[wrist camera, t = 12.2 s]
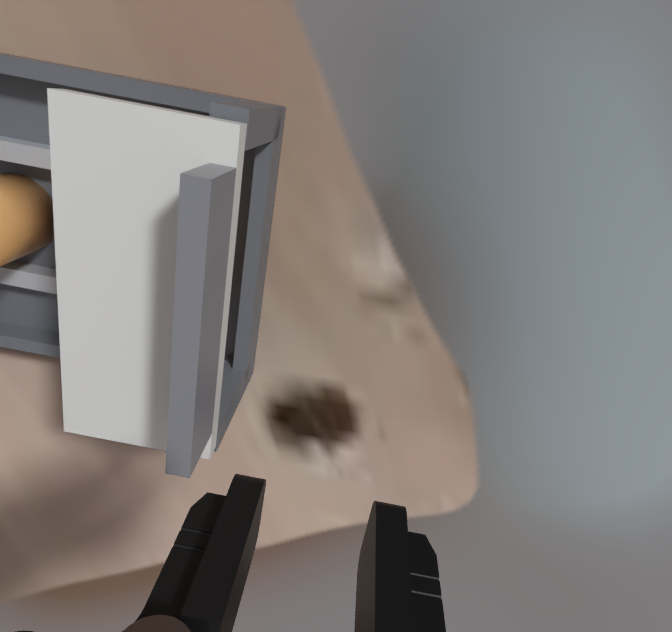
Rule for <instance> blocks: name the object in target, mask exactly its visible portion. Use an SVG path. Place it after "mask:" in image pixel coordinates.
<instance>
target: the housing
mask: <svg viewBox="0 0 672 632" xmlns="http://www.w3.org/2000/svg"><path fill="white" fill-rule="evenodd" d="M47 88H56V89H67V90H72V91H78V92H83V93H88V94H93V95H99V96H104V97H109V98H114V99H120V100H125V101H130V102H136V103H141V104H146V105H151V106H157V107H162V108H167V109H173V110H178V111H183V112H188V113H194V114H199V115H204V116H209V117H215V118H220V119H225V120H231V121H236V122H241V123H246V124H247V130H246V140H245V150H244V161H243V171H242V181H241V192H240V202H239V212H238V223H237V233H236V243H235V254H234V264H233V274H232V285H231V295H230V305H229V316H228V326H227V336H226V347H225V357H224V367H223V378H222V388H221V398H220V409H219V419H218V429H217V440H216V447H215V449H214V451H215V452H216V451H217V449H218V447H219V445H220V443H221V441H222V438H223V436H224V434H225V432H226V430H227V428H228V426H229V423H230V421H231V419H232V417H233V415H234V413H235V411H236V408H237V406H238V404H239V402H240V400H241V398H242V396H243V393H244V391H245V389H246V387H247V385H248V383H249V381H250V378H251V376H252V374H253V369H254V361H255V353H256V345H257V337H258V329H259V321H260V313H261V305H262V297H263V289H264V281H265V272H266V264H267V256H268V248H269V240H270V232H271V224H272V216H273V208H274V200H275V192H276V184H277V176H278V168H279V159H280V151H281V143H282V135H283V127H284V119H285V111H286V107H284V106H278V105H273V104H268V103H262V102H257V101H252V100H247V99H241V98H236V97H231V96H225V95H220V94H215V93H210V92H204V91H199V90H194V89H189V88H183V87H178V86H173V85H167V84H162V83H157V82H152V81H146V80H141V79H136V78H130V77H125V76H120V75H115V74H109V73H104V72H99V71H93V70H88V69H83V68H78V67H72V66H67V65H62V64H56V63H51V62H46V61H41V60H35V59H30V58H25V57H19V56H14V55H9V54H4V53H0V174H1V173H9V172H12V173H18V174H22V175H25V176H27V177H29V178H31V179H33V180H34V181H36V182H37V183H38V184H39V185H41V186H42V187H43V188H44V189H45V191H46V192H47V193H48V194H49V196H50V197H51V199H52V201H53V198H52V178H51V158H50V137H49V117H48V97H47ZM0 347H4V348H10V349H15V350H20V351H25V352H30V353H36V354H41V355H46V356H51V357H56V358H60V340H59V320H58V300H57V279H56V259H55V239H54V238H53V240H52V241H51V242H50V243H49V244H48V245H47V246H45V247H43V248H41V249H39V250H37V251H35V252H32V253H30V254H28V255H25V256H23V257H21V258H19V259H16V260H14V261H12V262H9V263H7V264H5V265H2V266H0Z"/></svg>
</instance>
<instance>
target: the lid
mask: <svg viewBox="0 0 672 632" xmlns="http://www.w3.org/2000/svg"><path fill="white" fill-rule="evenodd" d="M47 97H48V117H49V137H50V158H51V178H52V198H53V219H54V239H55V259H56V279H57V300H58V320H59V340H60V360H61V381H62V401H63V421H64V431H65V432H70V433H75V434H80V435H85V436H91V437H96V438H101V439H106V440H111V441H117V442H122V443H127V444H132V445H137V446H142V447H148V448H153V449H158V450H163V451H166V471H165V473H166V474H172V475H177V476H182V477H187V478H190V476H191V474H192V472H193V470H194V468H195V466H196V464H197V462H198V460H199V458H205V459H210V458H211V455H212V453H213V451H214V449H215V447H216V440H217V429H218V419H219V409H220V398H221V388H222V378H223V367H224V357H225V347H226V336H227V326H228V316H229V305H230V295H231V285H232V274H233V264H234V254H235V243H236V233H237V223H238V212H239V202H240V192H241V181H242V171H243V161H244V150H245V140H246V130H247V124H246V123H241V122H236V121H231V120H225V119H220V118H215V117H209V116H204V115H199V114H194V113H188V112H183V111H178V110H173V109H167V108H162V107H157V106H151V105H146V104H141V103H136V102H130V101H125V100H120V99H114V98H109V97H104V96H99V95H93V94H88V93H83V92H78V91H72V90H67V89H56V88H47Z"/></svg>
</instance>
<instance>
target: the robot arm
mask: <svg viewBox="0 0 672 632" xmlns="http://www.w3.org/2000/svg"><path fill="white" fill-rule="evenodd" d="M265 486H266V480H265V479H260V478H255V477H250V476H245V475H240V474H235V476H234V478H233V480H232V483H231V485H230V488H229V490H228V493H227V495H226V496H223V495H218V494H213V493H208V492H207V493H206V494H205V495H204V496H203V497H202V498H201V499H200V500H199V501H197V502H196V503H195V504H194V505H193V506H192V507H191V508H190V510H189V512H188V515H187V517H186V519H185V521H184V523H183V525H182V528H181V531H180V532H179V534H178V536H177V538H176V540H175V542H174V546H173V547H172V549H171V551H170V553H169V555H168V558H167V560H166V562H165V564H164V566H163V568H162V570H161V573H160V575H159V577H158V579H157V581H156V583H155V585H154V588H153V590H152V592H151V594H150V597H149V598H148V601H147V603H146V605H145V607H144V609H143V611H142V613H141V614H140V616H139V617H138V619H137V620H136V621H135V622H134V623H132V624H131V625H130V626H128V627H127V628H126V629H124V630H123V631H122V632H232V629H233V626H234V622H235V619H236V615H237V612H238V608H239V604H240V601H241V597H242V594H243V590H244V586H245V583H246V579H247V576H248V572H249V569H250V565H251V561H252V558H253V554H254V550H255V546H256V541H257V537H258V532H259V526H260V519H261V513H262V506H263V499H264V493H265ZM18 632H32V631H18ZM355 632H446V629H445V621H444V612H443V604H442V600H441V588H440V582H439V572H438V564H437V556H436V554H435V552H434V550H433V548H432V546H431V545H430V543H429V541H428V539H427V537H426V536H425V535H423V534H418V533H413V532H408V527H407V512H406V508H405V507H404V506H399V505H393V504H388V503H383V502H378V501H374V503H373V505H372V509H371V513H370V516H369V520H368V524H367V528H366V532H365V535H364V539H363V543H362V547H361V551H360V557H359V563H358V572H357V590H356V611H355Z"/></svg>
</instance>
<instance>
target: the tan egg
mask: <svg viewBox="0 0 672 632" xmlns="http://www.w3.org/2000/svg"><path fill="white" fill-rule="evenodd" d="M53 238H54V219H53V201H52V199H51V197H50V196H49V194H48V193H47V192H46V191H45V189H44V188H43V187H42V186H41V185H39V184H38V183H37V182H36V181H34V180H33V179H31V178H29V177H27V176H25V175H22V174H18V173H12V172H9V173H1V174H0V266H2V265H5V264H7V263H9V262H12V261H14V260H16V259H19V258H21V257H23V256H25V255H28V254H30V253H32V252H35V251H37V250H39V249H41V248H43V247H45V246H47V245H48V244H49V243H50V242H51V241H52V240H53Z"/></svg>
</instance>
